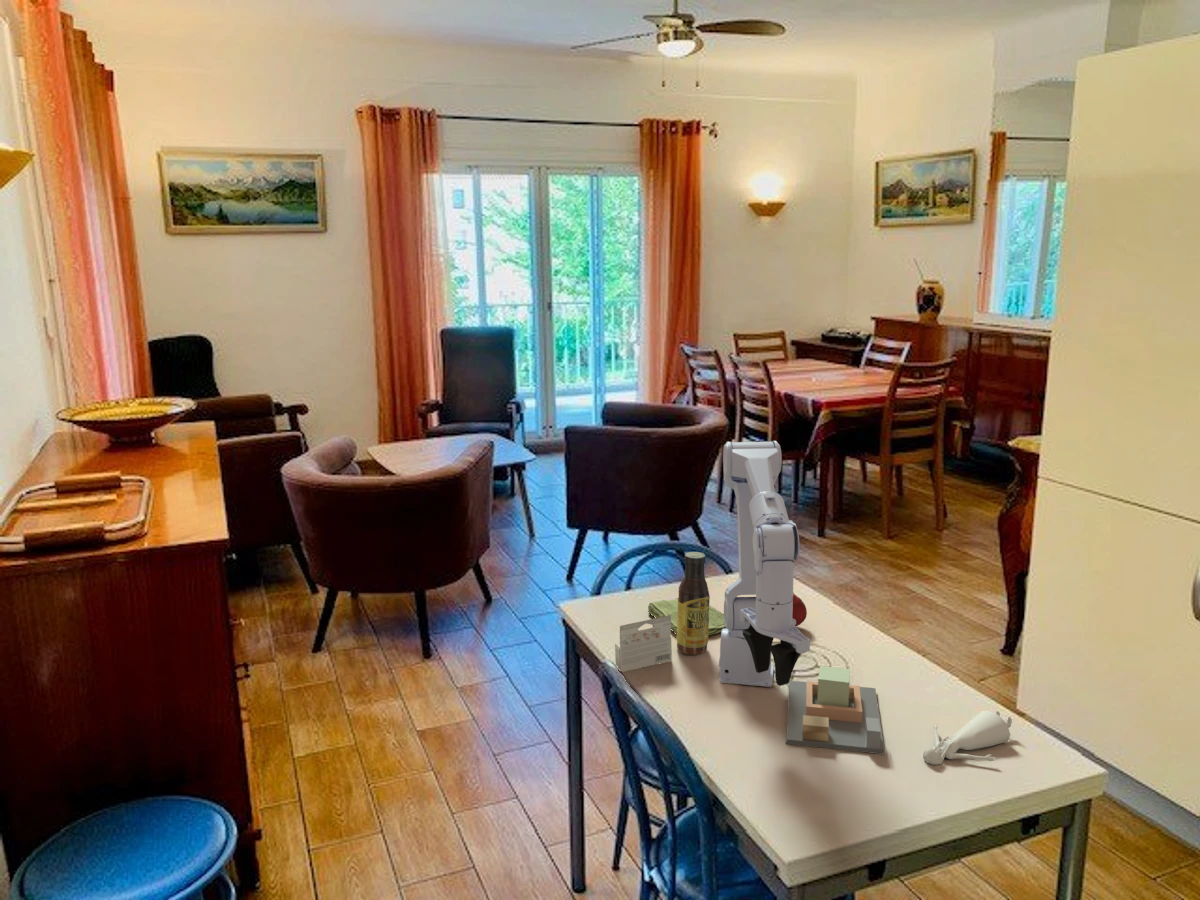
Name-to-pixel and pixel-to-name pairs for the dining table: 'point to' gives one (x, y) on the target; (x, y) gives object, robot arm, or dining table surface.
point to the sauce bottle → (693, 607)
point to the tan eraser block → (815, 728)
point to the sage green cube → (833, 686)
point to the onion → (798, 610)
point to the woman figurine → (971, 738)
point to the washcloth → (671, 609)
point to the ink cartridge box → (644, 644)
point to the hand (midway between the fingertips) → (772, 677)
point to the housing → (836, 719)
